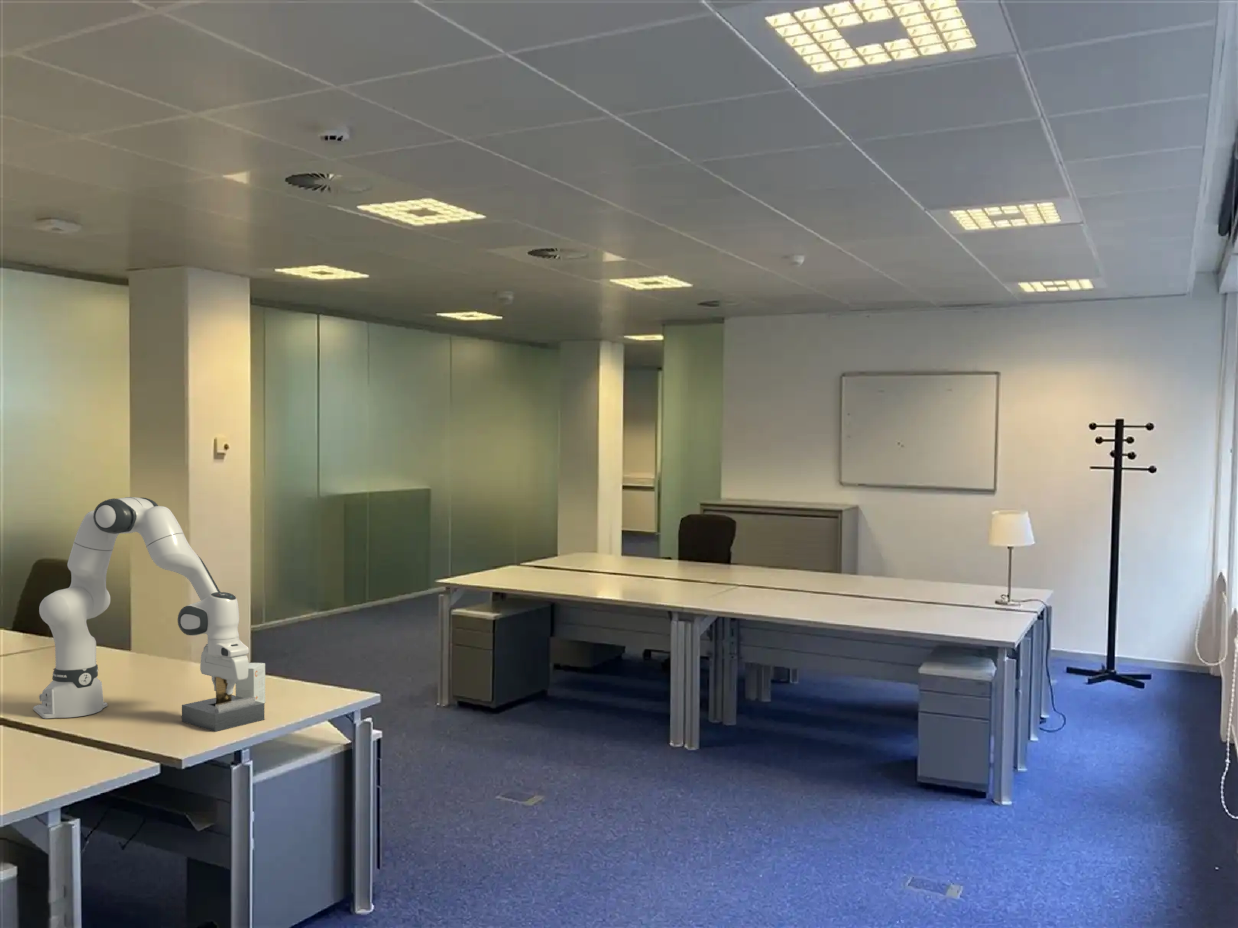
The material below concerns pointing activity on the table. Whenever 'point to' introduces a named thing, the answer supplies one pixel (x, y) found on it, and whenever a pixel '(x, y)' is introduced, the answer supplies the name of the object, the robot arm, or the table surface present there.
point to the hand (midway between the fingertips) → (223, 692)
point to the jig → (223, 713)
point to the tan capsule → (222, 691)
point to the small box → (253, 683)
